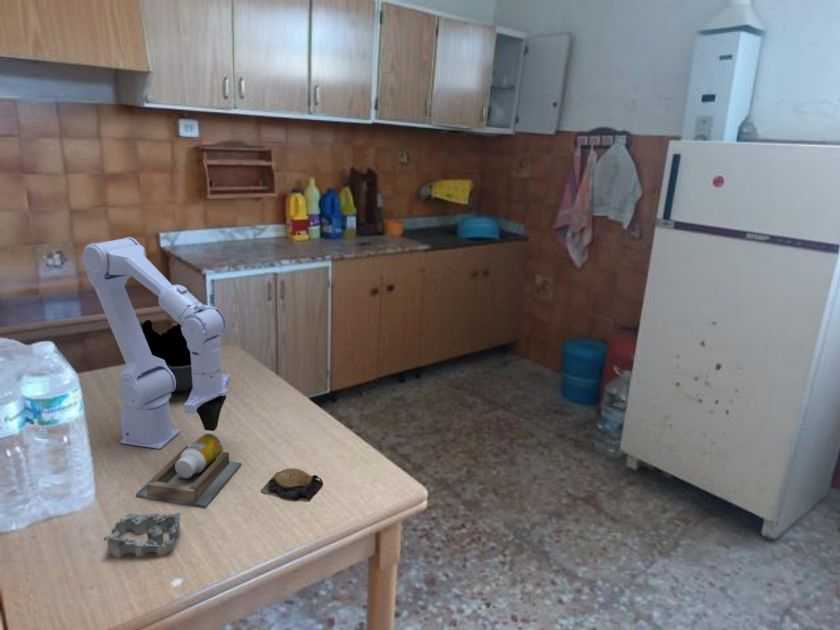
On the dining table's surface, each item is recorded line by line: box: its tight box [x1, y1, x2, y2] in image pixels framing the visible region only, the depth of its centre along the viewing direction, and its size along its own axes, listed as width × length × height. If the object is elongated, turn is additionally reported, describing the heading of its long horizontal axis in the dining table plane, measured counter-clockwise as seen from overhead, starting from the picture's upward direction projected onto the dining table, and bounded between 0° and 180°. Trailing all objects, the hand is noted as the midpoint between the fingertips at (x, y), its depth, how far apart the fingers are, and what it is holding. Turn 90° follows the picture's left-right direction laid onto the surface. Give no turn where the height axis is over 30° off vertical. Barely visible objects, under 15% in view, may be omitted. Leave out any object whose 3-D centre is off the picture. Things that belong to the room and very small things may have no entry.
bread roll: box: [260, 467, 324, 503], centre depth 114 cm, size 11×8×4 cm
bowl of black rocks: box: [140, 319, 193, 393], centre depth 149 cm, size 20×20×19 cm
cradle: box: [135, 446, 242, 509], centre depth 114 cm, size 14×14×3 cm
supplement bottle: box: [175, 432, 224, 478], centre depth 117 cm, size 5×5×10 cm
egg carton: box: [103, 511, 181, 559], centre depth 97 cm, size 11×8×4 cm
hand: (210, 429), depth 120 cm, fingers closed
